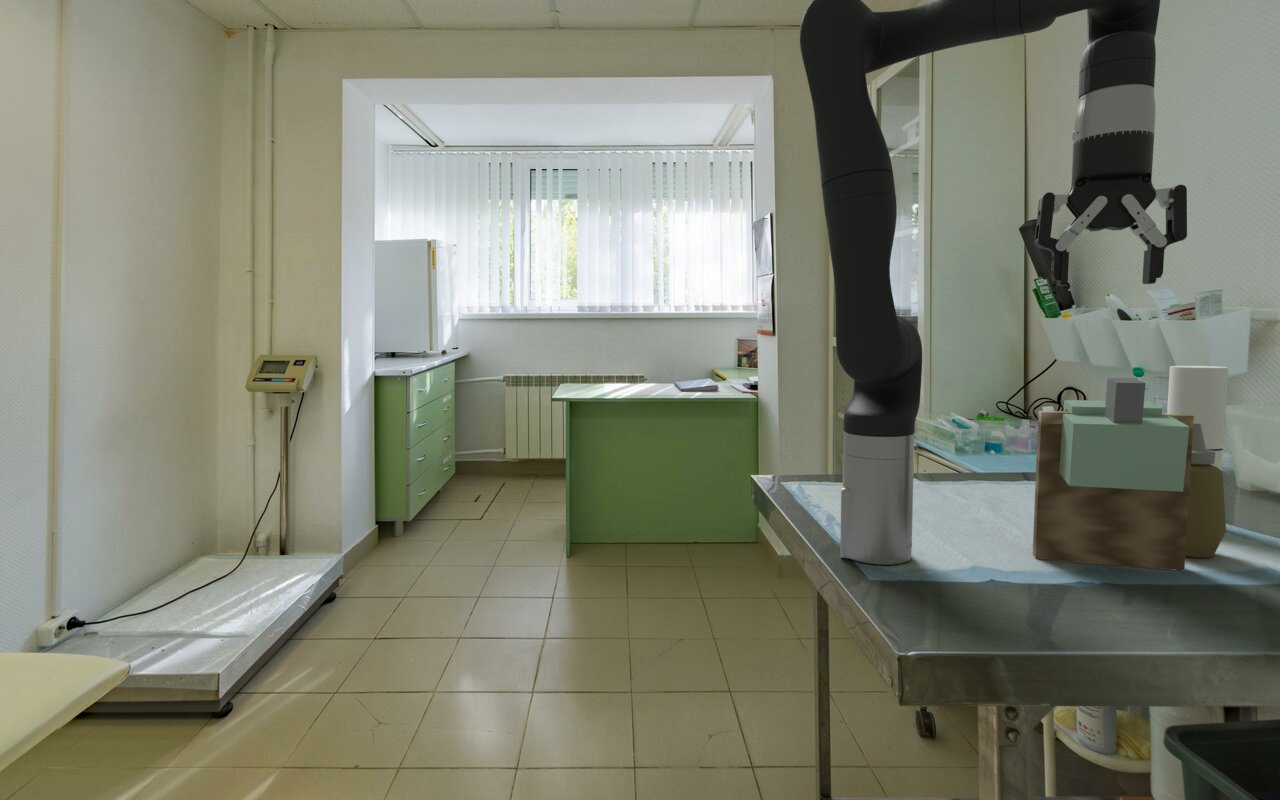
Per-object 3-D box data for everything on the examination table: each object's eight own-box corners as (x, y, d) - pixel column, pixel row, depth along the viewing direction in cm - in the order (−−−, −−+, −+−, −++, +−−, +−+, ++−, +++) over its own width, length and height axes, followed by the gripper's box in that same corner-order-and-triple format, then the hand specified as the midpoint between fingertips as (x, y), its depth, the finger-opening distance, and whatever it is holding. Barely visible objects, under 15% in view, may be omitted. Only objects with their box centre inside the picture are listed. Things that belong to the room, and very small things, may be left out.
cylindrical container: (1228, 533, 109) (1239, 368, 107) (1175, 531, 110) (1184, 368, 108) (1201, 521, 116) (1211, 365, 114) (1152, 519, 117) (1160, 365, 115)
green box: (1069, 485, 91) (1076, 383, 88) (1051, 463, 101) (1057, 370, 98) (1183, 491, 87) (1193, 384, 84) (1153, 467, 97) (1161, 371, 94)
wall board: (1035, 558, 98) (1041, 412, 96) (1026, 544, 105) (1031, 406, 103) (1184, 570, 93) (1193, 415, 91) (1165, 554, 99) (1173, 410, 97)
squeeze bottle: (1220, 549, 101) (1228, 422, 100) (1228, 565, 94) (1238, 429, 93) (1150, 541, 106) (1157, 418, 104) (1153, 555, 99) (1160, 425, 97)
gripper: (1047, 134, 79) (1040, 284, 80) (1203, 121, 74) (1193, 280, 76) (1034, 150, 86) (1028, 288, 87) (1176, 139, 81) (1167, 285, 83)
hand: (1105, 284), depth 82 cm, fingers open, 8 cm apart
